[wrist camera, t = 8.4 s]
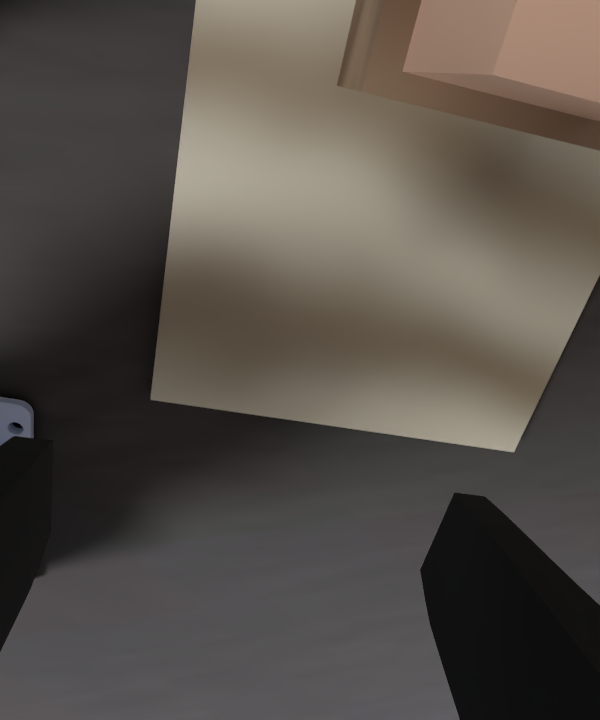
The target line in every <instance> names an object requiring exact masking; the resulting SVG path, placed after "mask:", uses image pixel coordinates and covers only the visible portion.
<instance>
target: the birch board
mask: <svg viewBox="0 0 600 720" xmlns="http://www.w3.org/2000/svg"><path fill="white" fill-rule="evenodd" d="M355 3H356V0H196V6H195V14H194V23H193V32H192V41H191V49H190V58H189V67H188V75H187V84H186V93H185V102H184V110H183V119H182V128H181V136H180V145H179V154H178V163H177V171H176V180H175V189H174V197H173V206H172V215H171V224H170V232H169V241H168V250H167V258H166V267H165V276H164V285H163V293H162V302H161V311H160V319H159V328H158V337H157V346H156V354H155V363H154V372H153V380H152V389H151V398H150V400H155V401H162V402H169V403H176V404H183V405H190V406H197V407H204V408H211V409H218V410H224V411H231V412H238V413H245V414H252V415H259V416H266V417H273V418H280V419H287V420H294V421H301V422H308V423H314V424H321V425H328V426H335V427H342V428H349V429H356V430H363V431H370V432H377V433H384V434H391V435H398V436H405V437H411V438H418V439H425V440H432V441H439V442H446V443H453V444H460V445H467V446H474V447H481V448H488V449H495V450H502V451H508V452H514V451H515V449H516V447H517V445H518V443H519V441H520V438H521V436H522V434H523V432H524V430H525V428H526V426H527V424H528V422H529V420H530V418H531V416H532V414H533V412H534V410H535V408H536V405H537V403H538V401H539V399H540V397H541V395H542V393H543V391H544V389H545V387H546V385H547V383H548V381H549V379H550V377H551V374H552V372H553V370H554V368H555V366H556V364H557V362H558V360H559V358H560V356H561V354H562V352H563V350H564V348H565V346H566V344H567V341H568V339H569V337H570V335H571V333H572V331H573V329H574V327H575V325H576V323H577V321H578V319H579V317H580V315H581V313H582V310H583V308H584V306H585V304H586V302H587V300H588V298H589V296H590V294H591V292H592V290H593V288H594V286H595V284H596V282H597V280H598V277H599V275H600V151H599V150H595V149H591V148H586V147H582V146H578V145H574V144H570V143H566V142H562V141H558V140H554V139H550V138H546V137H542V136H538V135H534V134H529V133H525V132H521V131H517V130H513V129H509V128H505V127H501V126H497V125H493V124H489V123H485V122H481V121H477V120H473V119H469V118H465V117H461V116H457V115H453V114H449V113H445V112H441V111H437V110H433V109H429V108H425V107H421V106H417V105H412V104H408V103H404V102H400V101H396V100H392V99H388V98H384V97H380V96H376V95H372V94H368V93H364V92H360V91H356V90H352V89H348V88H344V87H340V86H337V83H338V78H339V74H340V69H341V65H342V60H343V56H344V51H345V47H346V43H347V38H348V34H349V29H350V25H351V20H352V16H353V11H354V7H355Z"/></svg>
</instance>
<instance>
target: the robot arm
mask: <svg viewBox="0 0 600 720" xmlns="http://www.w3.org/2000/svg"><path fill="white" fill-rule="evenodd" d="M12 422H16V423H19V424H20V425H21V426H22V427H23V428H17V427H15V426H14V425H13V423H12ZM52 446H53V441H50V440H42V439H34V412H33V409H32V407H31V406H30V405H29V404H28V403H26V402H25V401H22V400H18V399H11V398H4V397H0V651H1V649H2V647H3V645H4V643H5V641H6V639H7V637H8V635H9V632H10V630H11V628H12V626H13V624H14V622H15V620H16V618H17V616H18V614H19V612H20V610H21V608H22V606H23V603H24V601H25V599H26V597H27V595H28V593H29V591H30V589H31V586H32V583H33V580H34V578H35V575H36V572H37V569H38V567H39V564H40V561H41V558H42V555H43V552H44V549H45V546H46V543H47V540H48V538H49V535H50V532H51V490H52ZM420 571H421V577H422V583H423V589H424V595H425V601H426V606H427V611H428V616H429V621H430V625H431V629H432V632H433V635H434V639H435V642H436V645H437V648H438V652H439V655H440V658H441V661H442V665H443V668H444V671H445V674H446V677H447V680H448V684H449V687H450V690H451V693H452V696H453V699H454V702H455V706H456V709H457V712H458V715H459V718H460V720H600V605H599V604H598V603H597V602H595V601H594V600H593V599H592V598H591V597H590V596H589V595H588V594H587V593H586V592H585V591H584V590H582V589H581V588H580V587H579V586H578V585H577V584H576V583H575V582H574V581H573V580H572V579H571V578H570V577H569V576H568V575H567V574H566V573H565V572H564V571H563V570H561V569H560V568H559V567H558V566H557V565H556V564H555V563H554V562H553V561H552V560H551V559H550V558H549V557H548V556H547V555H546V554H545V553H544V552H543V551H542V550H541V549H540V548H539V547H538V546H537V545H536V544H535V543H534V542H533V541H532V540H531V539H530V538H529V537H528V536H527V535H526V534H524V533H523V532H522V531H521V530H520V529H519V528H518V527H517V526H516V525H515V524H514V523H513V522H512V521H511V520H510V519H509V518H508V517H507V516H506V515H505V514H504V513H503V512H502V511H500V510H499V509H498V508H497V507H496V506H495V505H494V504H493V503H492V502H490V501H489V500H488V499H487V498H486V497H484V496H476V495H469V494H461V493H454V495H453V497H452V500H451V502H450V504H449V506H448V509H447V511H446V513H445V515H444V518H443V520H442V522H441V524H440V527H439V529H438V531H437V533H436V536H435V538H434V540H433V542H432V545H431V547H430V549H429V551H428V554H427V556H426V558H425V561H424V563H423V565H422V567H421V570H420Z"/></svg>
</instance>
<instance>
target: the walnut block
mask: <svg viewBox="0 0 600 720" xmlns="http://www.w3.org/2000/svg"><path fill="white" fill-rule="evenodd" d="M421 1H422V0H356V3H355V7H354V11H353V16H352V20H351V25H350V29H349V34H348V38H347V43H346V47H345V51H344V56H343V60H342V65H341V69H340V74H339V78H338V83H337V86H340V87H344V88H348V89H352V90H356V91H360V92H364V93H368V94H372V95H376V96H380V97H384V98H388V99H392V100H396V101H400V102H404V103H408V104H412V105H417V106H421V107H425V108H429V109H433V110H437V111H441V112H445V113H449V114H453V115H457V116H461V117H465V118H469V119H473V120H477V121H481V122H485V123H489V124H493V125H497V126H501V127H505V128H509V129H513V130H517V131H521V132H525V133H529V134H534V135H538V136H542V137H546V138H550V139H554V140H558V141H562V142H566V143H570V144H574V145H578V146H582V147H586V148H591V149H595V150H599V151H600V121H595V120H591V119H587V118H583V117H579V116H575V115H571V114H567V113H563V112H559V111H555V110H551V109H548V108H544V107H540V106H536V105H532V104H528V103H524V102H520V101H516V100H512V99H508V98H504V97H500V96H497V95H493V94H489V93H485V92H481V91H477V90H473V89H469V88H465V87H461V86H457V85H453V84H450V83H446V82H442V81H438V80H434V79H430V78H426V77H422V76H418V75H414V74H410V73H406V72H402V71H403V68H404V64H405V60H406V57H407V53H408V49H409V45H410V42H411V38H412V34H413V30H414V27H415V23H416V19H417V16H418V12H419V8H420V4H421Z"/></svg>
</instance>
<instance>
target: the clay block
mask: <svg viewBox="0 0 600 720" xmlns="http://www.w3.org/2000/svg"><path fill="white" fill-rule="evenodd" d="M402 72H406V73H410V74H414V75H418V76H422V77H426V78H430V79H434V80H438V81H442V82H446V83H450V84H453V85H457V86H461V87H465V88H469V89H473V90H477V91H481V92H485V93H489V94H493V95H497V96H500V97H504V98H508V99H512V100H516V101H520V102H524V103H528V104H532V105H536V106H540V107H544V108H548V109H551V110H555V111H559V112H563V113H567V114H571V115H575V116H579V117H583V118H587V119H591V120H595V121H600V0H422V1H421V4H420V8H419V12H418V16H417V19H416V23H415V27H414V30H413V34H412V38H411V42H410V45H409V49H408V53H407V57H406V60H405V64H404V68H403V71H402Z"/></svg>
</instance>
